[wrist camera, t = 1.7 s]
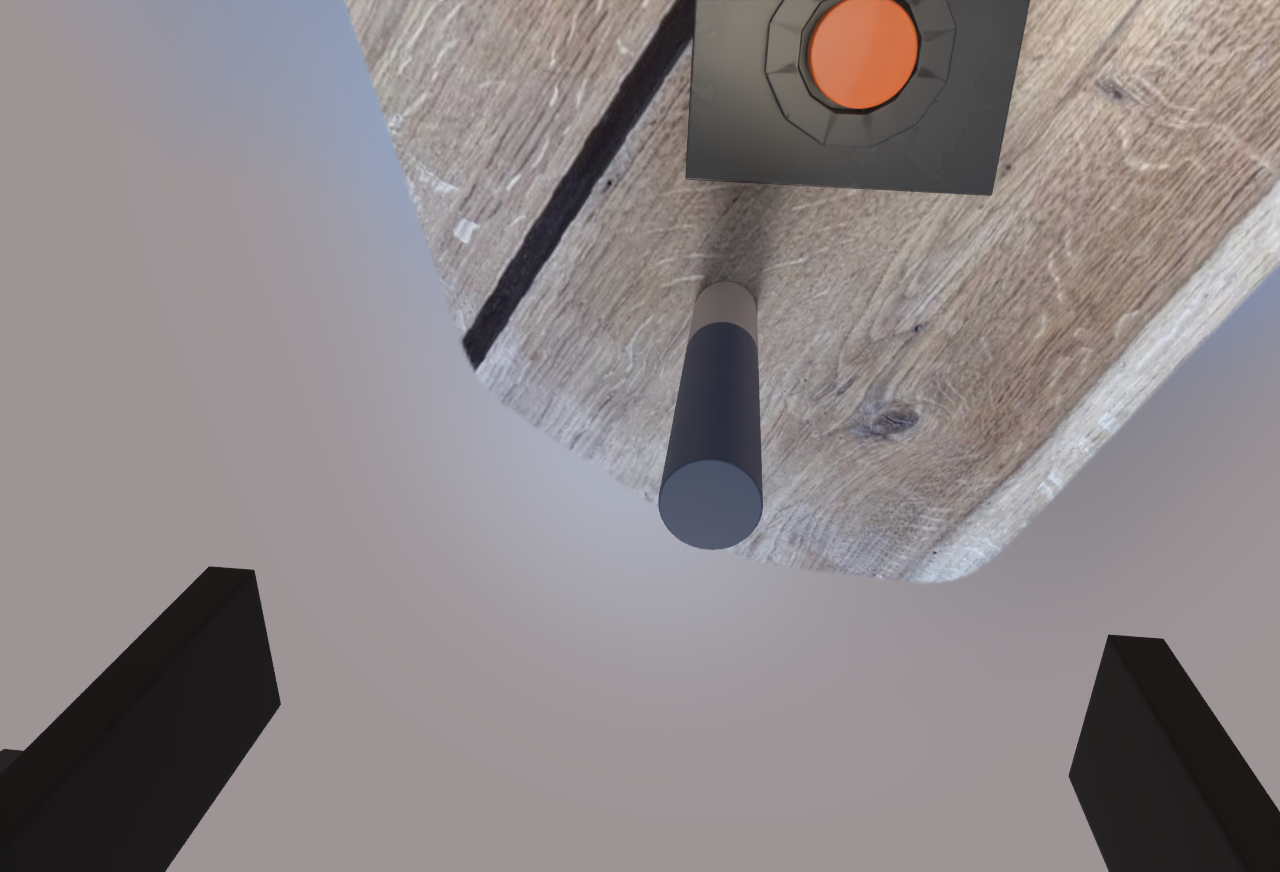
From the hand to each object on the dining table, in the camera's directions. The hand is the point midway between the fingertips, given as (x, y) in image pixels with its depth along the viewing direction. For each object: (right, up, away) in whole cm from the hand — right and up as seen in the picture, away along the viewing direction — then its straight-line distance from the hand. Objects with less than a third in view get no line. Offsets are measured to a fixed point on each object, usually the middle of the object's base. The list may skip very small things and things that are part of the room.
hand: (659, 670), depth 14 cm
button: (+7, +17, +18) cm, 26 cm away
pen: (+4, +9, +26) cm, 28 cm away
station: (+8, +19, +21) cm, 30 cm away
